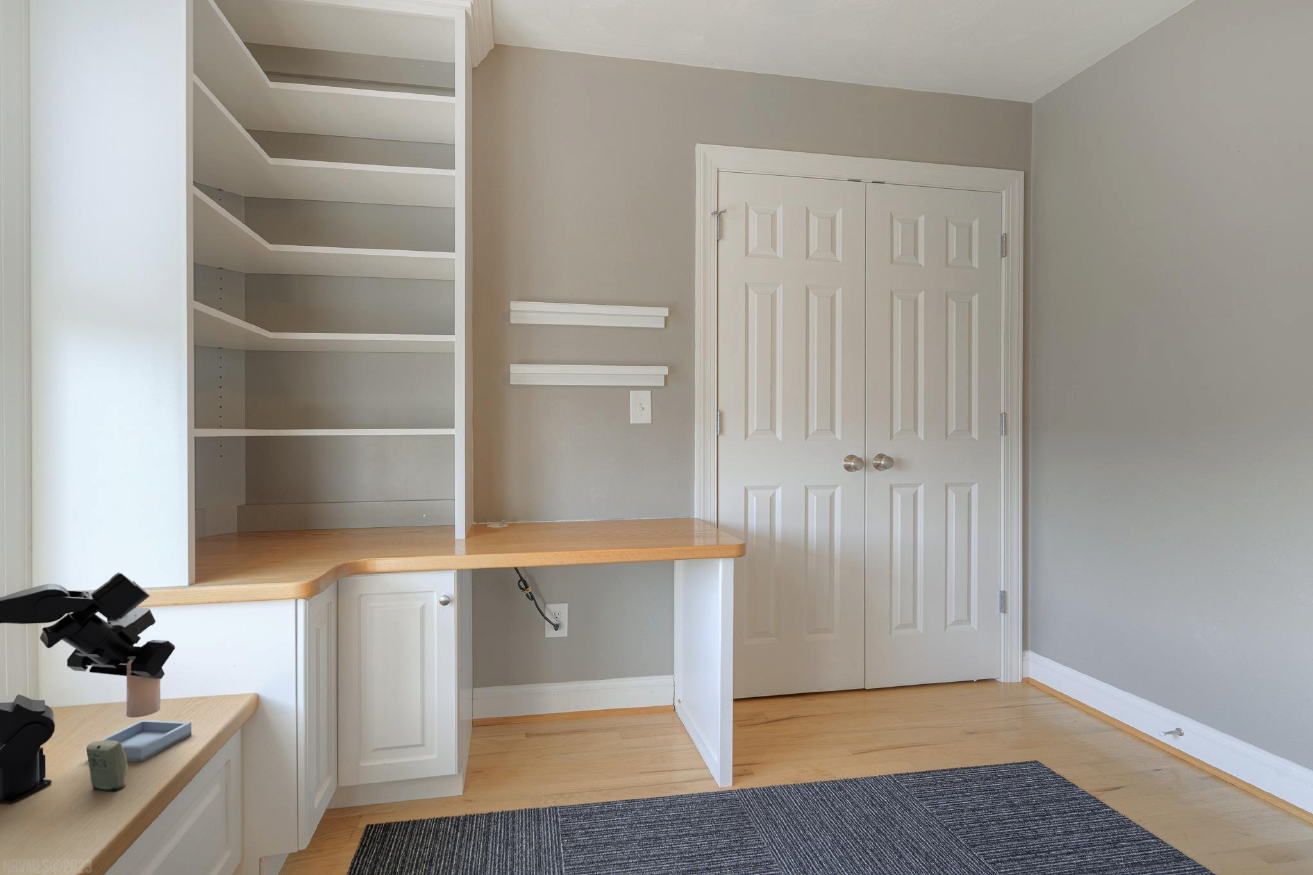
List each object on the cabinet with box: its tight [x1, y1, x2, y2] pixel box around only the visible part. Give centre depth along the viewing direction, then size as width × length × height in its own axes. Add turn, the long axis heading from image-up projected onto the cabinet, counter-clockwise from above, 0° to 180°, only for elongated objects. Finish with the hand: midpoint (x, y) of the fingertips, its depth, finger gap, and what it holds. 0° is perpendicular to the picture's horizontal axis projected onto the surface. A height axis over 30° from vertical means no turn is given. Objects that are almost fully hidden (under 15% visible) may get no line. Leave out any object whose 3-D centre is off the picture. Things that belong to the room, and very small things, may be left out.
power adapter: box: [86, 740, 129, 792], centre depth 110 cm, size 6×5×8 cm
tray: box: [98, 719, 192, 763], centre depth 125 cm, size 11×11×2 cm
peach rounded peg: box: [125, 660, 161, 718], centre depth 126 cm, size 5×5×11 cm
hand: (150, 675), depth 127 cm, fingers closed on peach rounded peg, 5 cm apart
